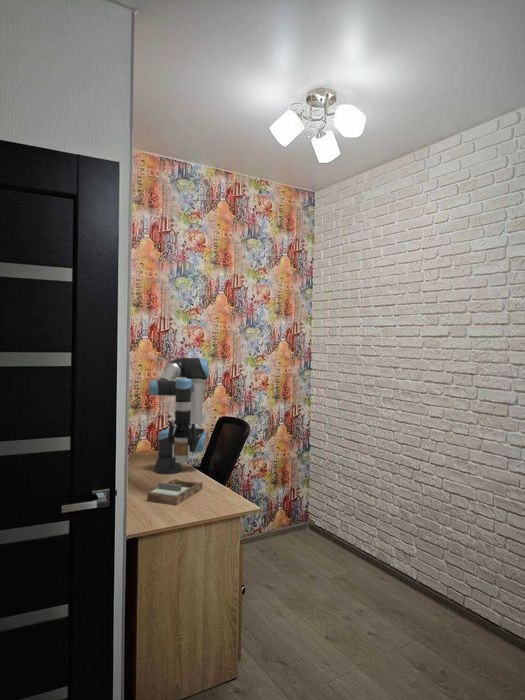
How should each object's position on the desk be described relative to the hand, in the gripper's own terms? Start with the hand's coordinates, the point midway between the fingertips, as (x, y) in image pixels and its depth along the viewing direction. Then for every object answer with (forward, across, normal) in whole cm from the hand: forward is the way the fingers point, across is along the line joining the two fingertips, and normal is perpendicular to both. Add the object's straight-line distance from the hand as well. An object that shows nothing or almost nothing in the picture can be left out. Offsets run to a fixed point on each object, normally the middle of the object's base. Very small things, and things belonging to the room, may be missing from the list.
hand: (181, 457), depth 234 cm
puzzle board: (+17, 0, -5) cm, 17 cm away
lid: (+13, 0, -11) cm, 17 cm away
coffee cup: (+2, 0, 0) cm, 2 cm away
